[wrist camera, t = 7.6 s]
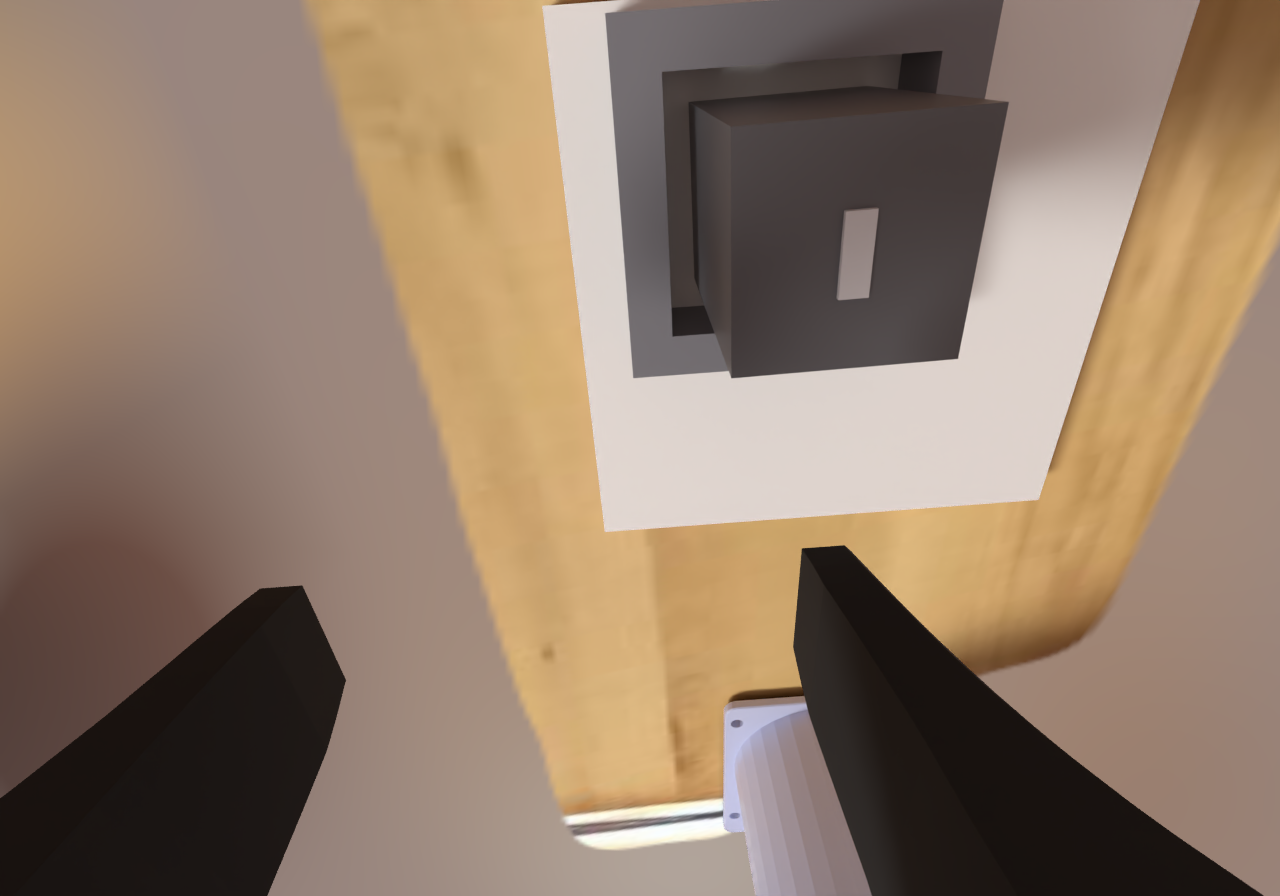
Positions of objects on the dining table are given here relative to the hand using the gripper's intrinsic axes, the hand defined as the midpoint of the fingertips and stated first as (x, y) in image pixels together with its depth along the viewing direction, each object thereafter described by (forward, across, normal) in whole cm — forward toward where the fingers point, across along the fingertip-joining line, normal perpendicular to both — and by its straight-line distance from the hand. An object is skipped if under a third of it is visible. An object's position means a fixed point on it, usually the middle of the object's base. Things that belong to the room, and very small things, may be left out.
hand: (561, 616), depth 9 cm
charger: (+9, -5, -4) cm, 11 cm away
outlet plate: (+10, -7, -1) cm, 13 cm away
